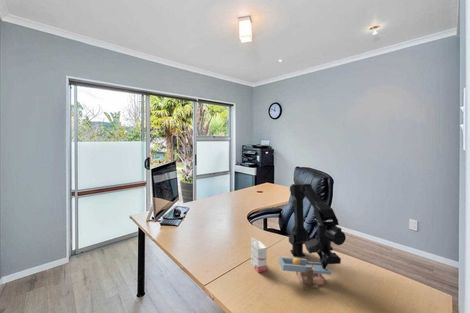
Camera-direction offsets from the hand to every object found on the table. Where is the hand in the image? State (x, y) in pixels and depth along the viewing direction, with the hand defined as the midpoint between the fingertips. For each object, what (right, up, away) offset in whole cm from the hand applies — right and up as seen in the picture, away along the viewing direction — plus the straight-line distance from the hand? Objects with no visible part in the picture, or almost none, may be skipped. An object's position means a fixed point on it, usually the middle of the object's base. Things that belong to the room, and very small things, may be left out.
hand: (323, 268), depth 102 cm
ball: (-13, +3, -1) cm, 13 cm away
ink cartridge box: (-29, -5, +11) cm, 31 cm away
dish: (-6, -6, 0) cm, 8 cm away
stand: (-8, -6, 0) cm, 10 cm away
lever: (-9, 0, -1) cm, 9 cm away
